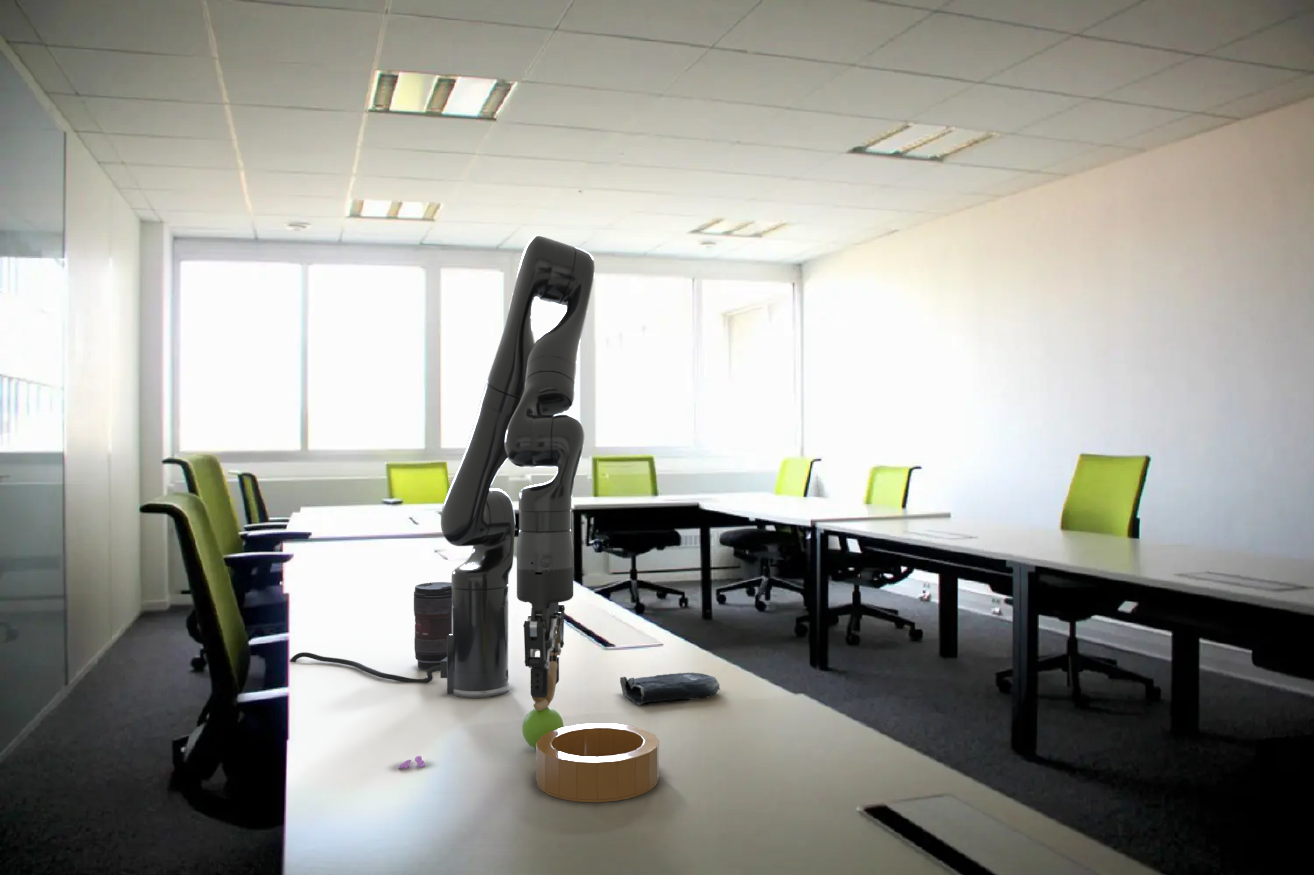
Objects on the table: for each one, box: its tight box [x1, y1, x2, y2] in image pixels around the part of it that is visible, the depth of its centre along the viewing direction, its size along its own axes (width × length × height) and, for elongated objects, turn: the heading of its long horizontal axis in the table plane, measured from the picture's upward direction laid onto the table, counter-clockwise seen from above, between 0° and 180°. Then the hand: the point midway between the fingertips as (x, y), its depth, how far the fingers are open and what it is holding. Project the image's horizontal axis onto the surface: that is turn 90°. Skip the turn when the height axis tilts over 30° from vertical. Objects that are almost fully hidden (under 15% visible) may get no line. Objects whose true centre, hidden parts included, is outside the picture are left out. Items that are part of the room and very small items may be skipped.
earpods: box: [398, 755, 426, 769], centre depth 114 cm, size 3×2×2 cm
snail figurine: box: [521, 652, 565, 749], centre depth 121 cm, size 5×6×12 cm
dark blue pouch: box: [619, 672, 721, 706], centre depth 147 cm, size 9×6×15 cm
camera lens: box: [413, 581, 452, 671], centre depth 167 cm, size 8×8×15 cm
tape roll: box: [535, 723, 660, 803], centre depth 109 cm, size 15×15×4 cm
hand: (545, 689), depth 121 cm, fingers closed on snail figurine, 6 cm apart
